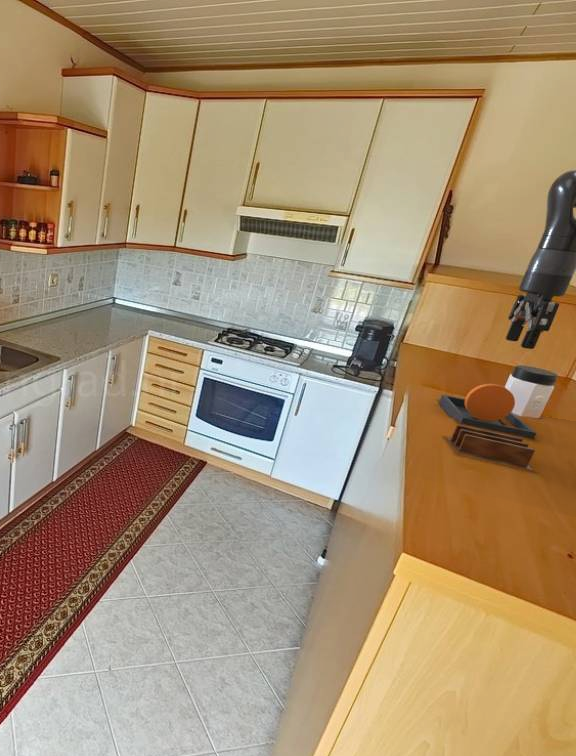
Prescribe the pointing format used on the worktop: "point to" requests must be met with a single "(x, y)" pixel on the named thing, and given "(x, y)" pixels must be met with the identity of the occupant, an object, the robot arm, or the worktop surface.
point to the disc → (489, 402)
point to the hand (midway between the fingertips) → (518, 344)
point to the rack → (491, 446)
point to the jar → (530, 389)
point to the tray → (459, 412)
